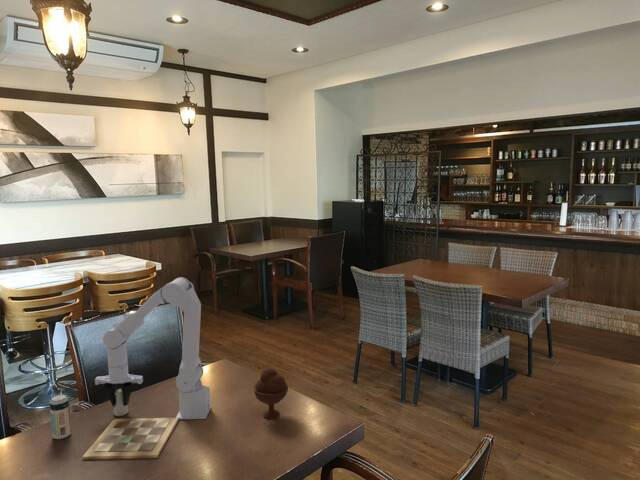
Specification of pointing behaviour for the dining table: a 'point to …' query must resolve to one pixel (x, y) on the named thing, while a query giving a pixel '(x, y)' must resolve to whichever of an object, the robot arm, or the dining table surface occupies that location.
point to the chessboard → (132, 438)
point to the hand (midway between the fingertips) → (120, 404)
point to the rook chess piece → (120, 404)
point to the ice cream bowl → (270, 391)
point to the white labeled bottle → (60, 416)
